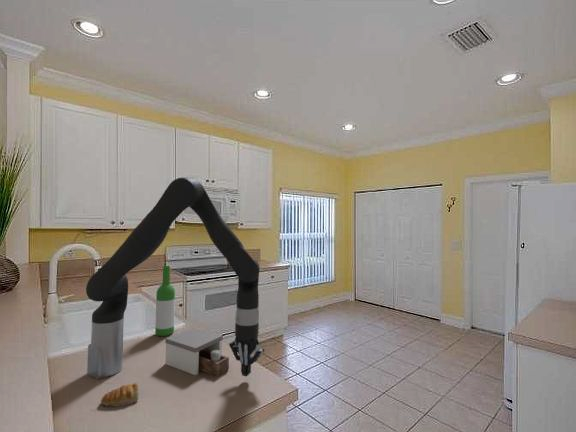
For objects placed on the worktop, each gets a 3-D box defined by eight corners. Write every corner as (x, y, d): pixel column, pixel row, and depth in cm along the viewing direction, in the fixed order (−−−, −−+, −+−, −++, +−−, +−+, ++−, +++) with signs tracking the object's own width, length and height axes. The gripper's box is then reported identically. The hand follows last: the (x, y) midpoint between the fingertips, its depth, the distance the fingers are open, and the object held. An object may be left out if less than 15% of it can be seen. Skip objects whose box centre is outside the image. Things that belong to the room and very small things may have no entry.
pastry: (100, 412, 80) (100, 397, 80) (101, 399, 86) (102, 385, 86) (139, 402, 84) (140, 388, 84) (138, 390, 90) (138, 377, 90)
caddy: (228, 369, 104) (229, 351, 104) (217, 376, 99) (217, 357, 99) (192, 356, 113) (192, 340, 113) (179, 362, 108) (180, 345, 108)
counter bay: (194, 375, 99) (195, 348, 99) (164, 364, 106) (165, 338, 106) (222, 360, 110) (222, 335, 110) (193, 350, 118) (193, 327, 118)
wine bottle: (169, 329, 140) (171, 264, 140) (176, 333, 134) (178, 266, 135) (152, 333, 134) (154, 266, 135) (159, 338, 129) (161, 268, 129)
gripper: (270, 321, 97) (269, 375, 96) (238, 314, 103) (237, 364, 103) (257, 328, 90) (255, 386, 90) (223, 320, 97) (222, 374, 97)
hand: (245, 374), depth 97 cm, fingers closed
